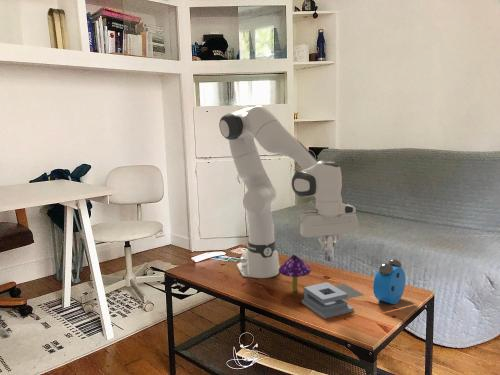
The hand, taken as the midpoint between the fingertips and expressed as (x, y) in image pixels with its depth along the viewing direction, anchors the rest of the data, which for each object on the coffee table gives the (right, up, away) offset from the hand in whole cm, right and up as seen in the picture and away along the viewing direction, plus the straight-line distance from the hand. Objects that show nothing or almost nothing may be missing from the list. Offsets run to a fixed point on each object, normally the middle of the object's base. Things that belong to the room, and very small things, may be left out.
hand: (329, 247), depth 140 cm
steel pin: (0, -5, +1) cm, 5 cm away
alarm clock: (+23, -20, +4) cm, 31 cm away
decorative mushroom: (-10, -20, +15) cm, 27 cm away
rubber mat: (+7, -19, +13) cm, 25 cm away
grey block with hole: (-1, -21, +1) cm, 21 cm away
